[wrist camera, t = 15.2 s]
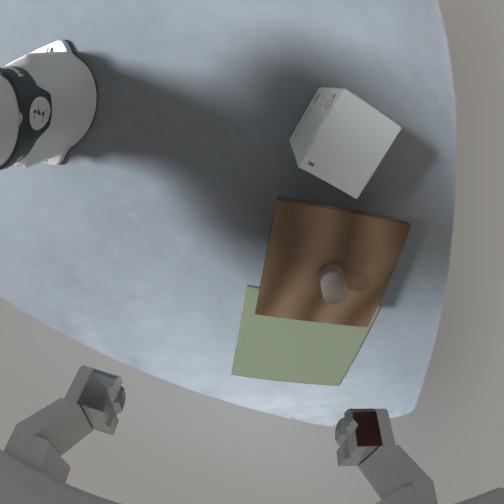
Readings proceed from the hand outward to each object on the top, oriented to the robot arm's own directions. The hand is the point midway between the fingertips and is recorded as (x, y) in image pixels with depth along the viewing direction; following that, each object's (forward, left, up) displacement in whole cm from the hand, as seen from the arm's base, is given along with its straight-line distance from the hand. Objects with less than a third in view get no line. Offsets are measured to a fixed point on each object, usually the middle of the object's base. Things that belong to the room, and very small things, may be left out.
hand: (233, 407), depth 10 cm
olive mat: (+12, -30, -33) cm, 46 cm away
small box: (+7, +6, -33) cm, 35 cm away
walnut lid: (+10, -10, -27) cm, 30 cm away
